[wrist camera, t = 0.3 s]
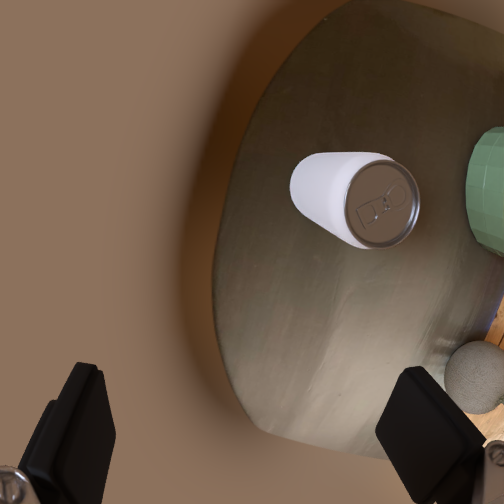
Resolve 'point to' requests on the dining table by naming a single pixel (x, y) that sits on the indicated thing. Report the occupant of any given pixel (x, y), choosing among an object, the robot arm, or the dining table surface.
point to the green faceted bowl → (487, 191)
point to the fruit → (476, 377)
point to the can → (357, 197)
